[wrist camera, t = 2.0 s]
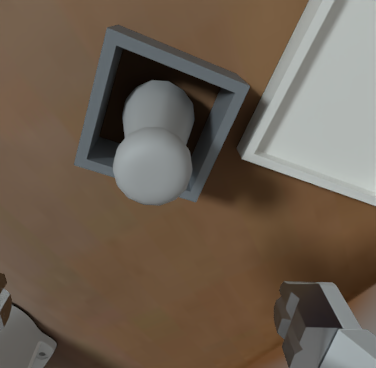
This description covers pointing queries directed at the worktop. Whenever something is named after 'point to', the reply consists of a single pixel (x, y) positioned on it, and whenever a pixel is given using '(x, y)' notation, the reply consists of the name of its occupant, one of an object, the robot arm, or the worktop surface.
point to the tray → (322, 102)
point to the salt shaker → (155, 144)
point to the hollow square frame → (228, 81)
